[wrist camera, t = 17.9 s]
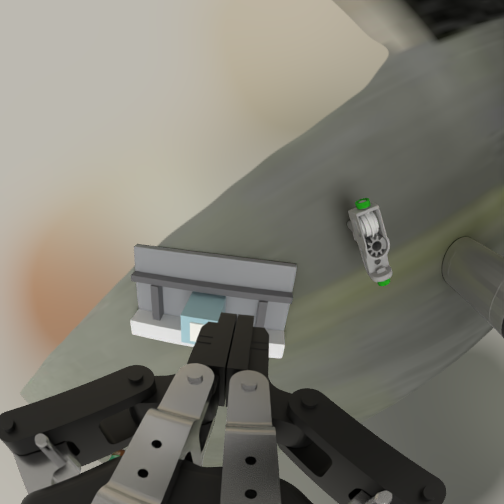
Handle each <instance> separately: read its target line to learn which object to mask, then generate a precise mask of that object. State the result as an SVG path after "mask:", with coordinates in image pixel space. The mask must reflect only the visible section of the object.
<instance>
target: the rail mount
mask: <svg viewBox="0 0 504 504" xmlns="http://www.w3.org/2000/svg"><path fill="white" fill-rule="evenodd" d="M134 254H135V255H134V256H135V272H134V273H133V274H132V275H131V281H134V282H136V286H137V297H138V307H139V309H138V310H137V312H136V313H135V314H134V316H133V317H132V318H131V320H130V322H131V329H132V334H134V335H138V336H142V337H147V338H151V339H156V340H160V341H165V342H170V343H175V344H180V345H186V346H191V347H194V345H195V344H189V343H184V342H182V341H181V316H180V315H181V313H182V311H183V309H184V307H185V305H186V304H187V302H188V300H189V298H190V296H191V294H192V292H193V291H194V292H201V293H208V294H215V295H222V296H226V307H225V313H232V314H237V318H238V314H242V315H252V316H254V324H253V327H262V328H265V329H266V331H267V332H268V334H269V357H272V358H282V355H283V351H284V347H285V338H284V329H285V324H286V319H287V315H288V310H289V305H290V304H292V300H293V295H292V290H293V285H294V280H295V275H296V269H297V266H296V264H292V263H283V262H275V261H267V260H259V259H251V258H243V257H235V256H227V255H219V254H211V253H203V252H195V251H187V250H180V249H172V248H164V247H157V246H149V245H141V244H137V245H135V246H134Z"/></svg>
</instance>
